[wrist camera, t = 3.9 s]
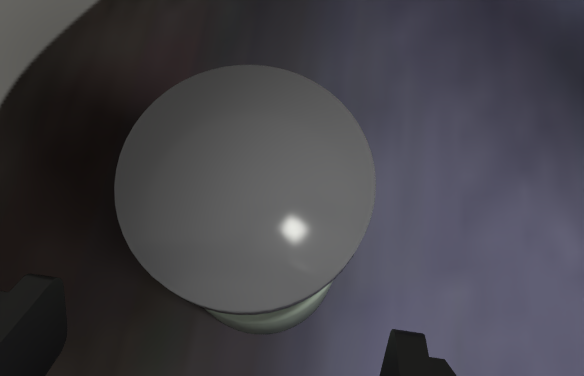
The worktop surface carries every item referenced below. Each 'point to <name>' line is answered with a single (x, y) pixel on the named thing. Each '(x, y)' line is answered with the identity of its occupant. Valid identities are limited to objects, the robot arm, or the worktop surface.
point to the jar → (246, 194)
